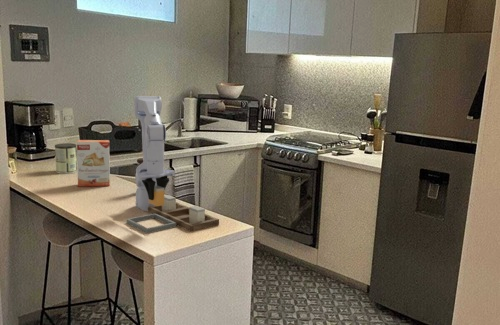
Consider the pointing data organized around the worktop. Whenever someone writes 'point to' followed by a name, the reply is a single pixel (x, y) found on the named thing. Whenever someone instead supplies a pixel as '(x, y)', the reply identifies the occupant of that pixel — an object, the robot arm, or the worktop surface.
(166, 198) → the block
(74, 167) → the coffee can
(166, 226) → the tray
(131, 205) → the worktop surface
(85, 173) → the cracker box
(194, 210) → the block
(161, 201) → the grey and orange block
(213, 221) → the holder
